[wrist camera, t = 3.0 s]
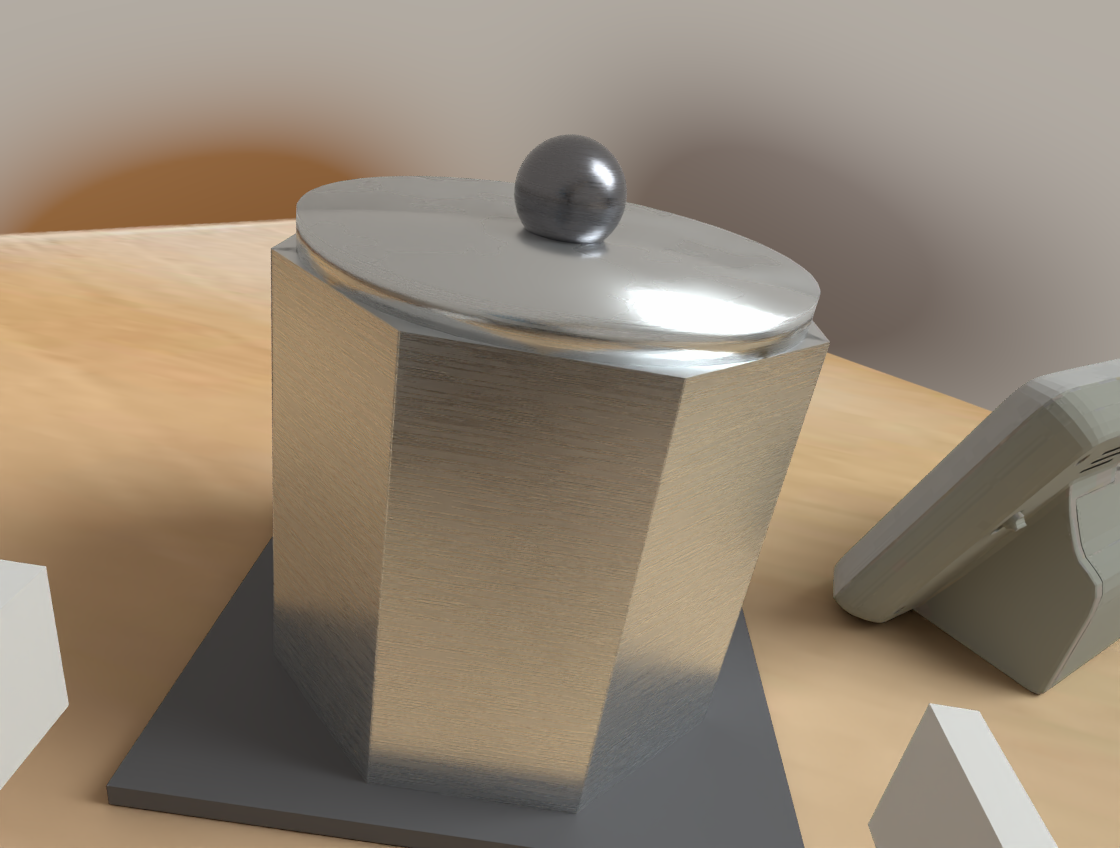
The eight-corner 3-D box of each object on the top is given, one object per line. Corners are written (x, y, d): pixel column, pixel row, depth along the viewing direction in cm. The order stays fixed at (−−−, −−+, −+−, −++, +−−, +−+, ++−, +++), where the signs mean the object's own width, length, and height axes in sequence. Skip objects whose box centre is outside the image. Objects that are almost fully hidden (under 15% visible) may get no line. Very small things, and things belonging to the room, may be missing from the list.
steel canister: (676, 544, 29) (783, 150, 23) (722, 836, 18) (951, 240, 12) (359, 493, 29) (380, 79, 22) (216, 761, 18) (180, 106, 12)
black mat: (719, 549, 30) (723, 537, 30) (807, 904, 18) (815, 888, 17) (314, 485, 30) (315, 472, 30) (108, 803, 17) (106, 785, 17)
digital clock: (1030, 515, 38) (1136, 308, 33) (1229, 643, 30) (1402, 400, 26) (764, 552, 31) (850, 298, 26) (939, 728, 24) (1101, 420, 19)
